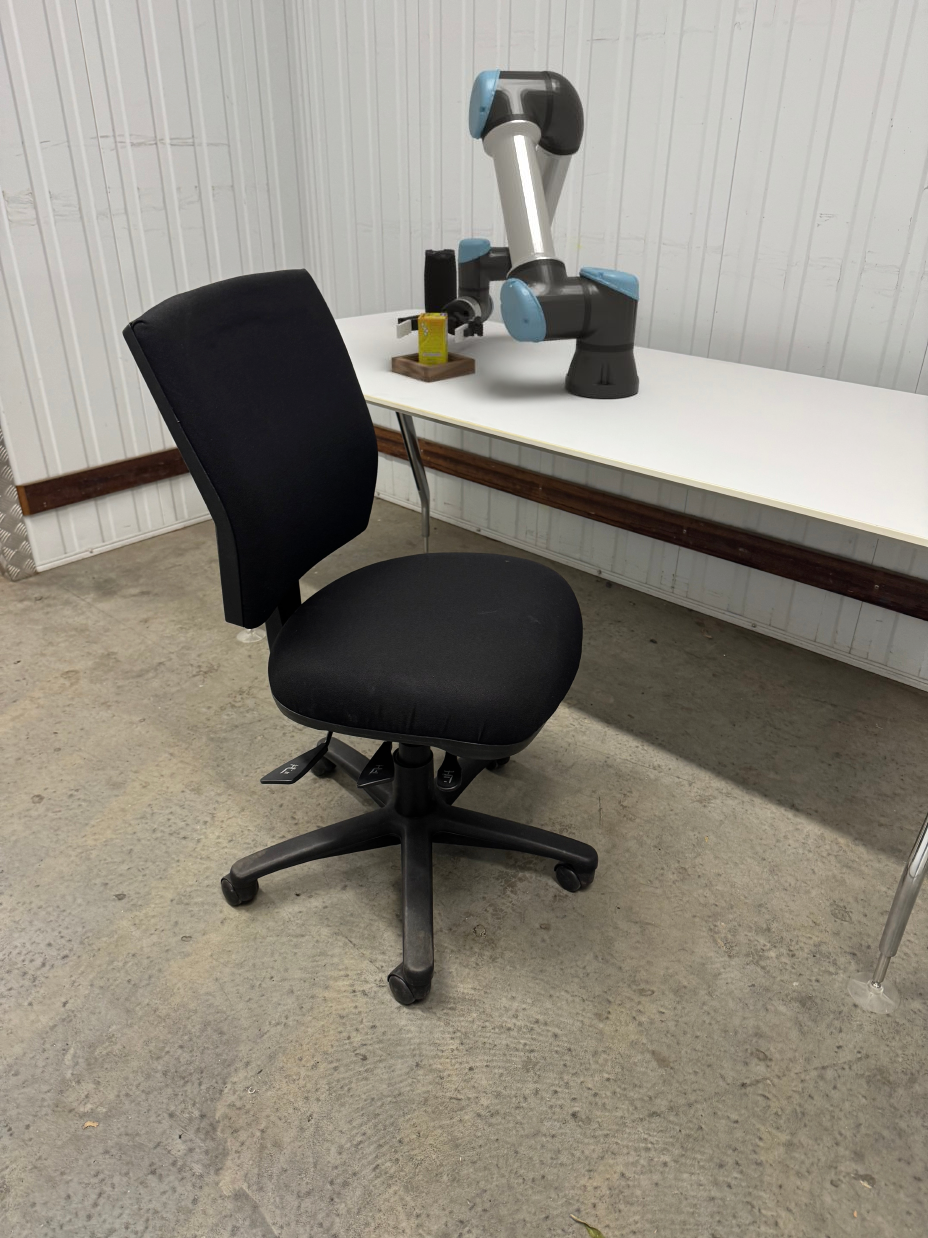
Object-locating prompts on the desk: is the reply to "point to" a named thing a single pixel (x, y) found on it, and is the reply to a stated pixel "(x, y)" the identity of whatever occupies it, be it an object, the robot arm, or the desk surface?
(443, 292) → the portable speaker
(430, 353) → the supplement box
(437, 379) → the socket block
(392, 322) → the desk surface
